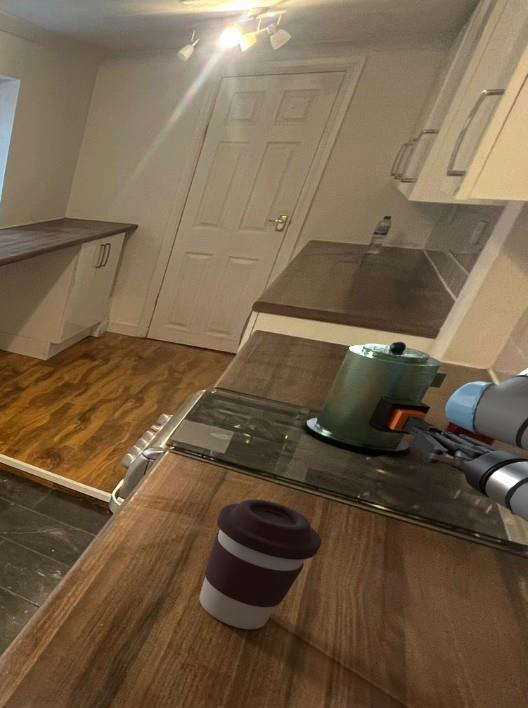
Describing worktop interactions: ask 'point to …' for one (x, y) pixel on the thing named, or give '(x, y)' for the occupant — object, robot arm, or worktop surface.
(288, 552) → the coffee cup
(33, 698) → the worktop surface
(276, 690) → the worktop surface
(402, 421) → the kettle switch
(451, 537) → the worktop surface
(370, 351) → the kettle
